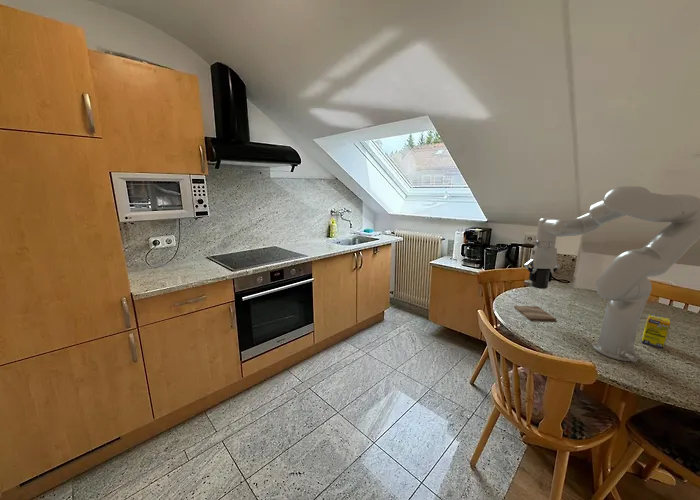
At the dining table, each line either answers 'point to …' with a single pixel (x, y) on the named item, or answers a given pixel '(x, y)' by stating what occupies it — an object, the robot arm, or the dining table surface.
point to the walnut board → (534, 313)
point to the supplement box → (655, 331)
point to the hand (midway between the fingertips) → (539, 280)
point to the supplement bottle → (541, 279)
